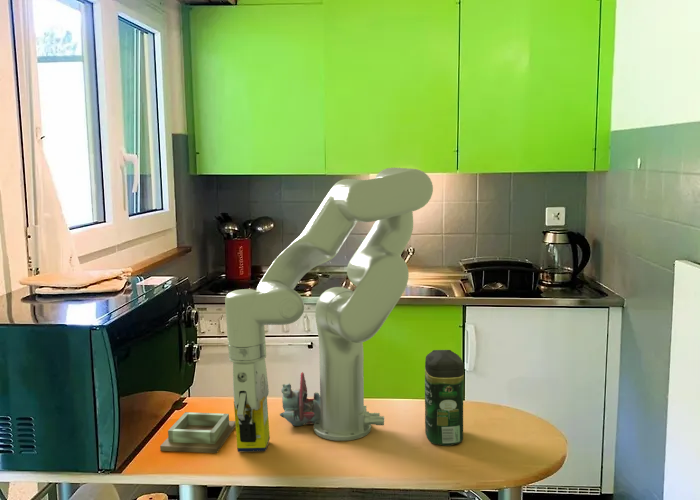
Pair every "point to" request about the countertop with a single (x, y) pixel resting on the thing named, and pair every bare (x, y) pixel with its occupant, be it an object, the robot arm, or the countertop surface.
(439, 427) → the coffee jar
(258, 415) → the supplement box
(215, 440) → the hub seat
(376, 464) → the countertop surface
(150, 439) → the countertop surface
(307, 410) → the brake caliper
